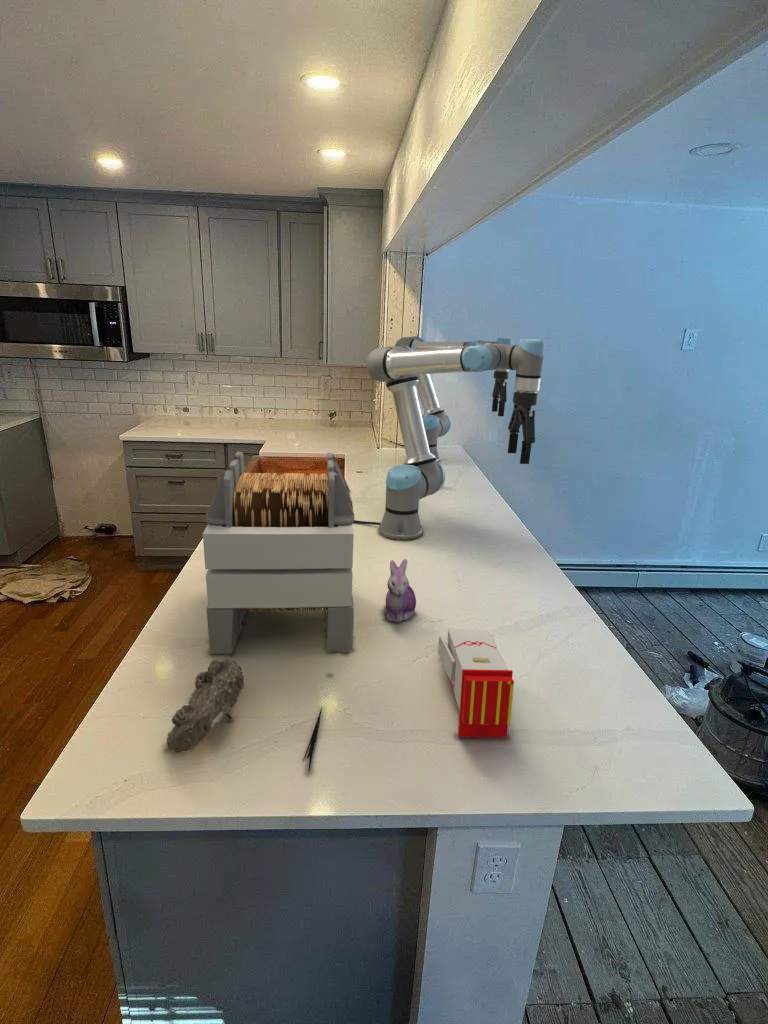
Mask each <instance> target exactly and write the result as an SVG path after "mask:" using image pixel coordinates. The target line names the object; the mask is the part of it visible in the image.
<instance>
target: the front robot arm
mask: <svg viewBox="0 0 768 1024" xmlns="http://www.w3.org/2000/svg"><path fill="white" fill-rule="evenodd" d="M545 346H546V345H545V341H543V340H542V339H534V338H533V339H532V338H521V339H520V340H519V343H518V344H512V345H507V344H498V343H486V344H484V345H473V346H462V347H450V348H437V349H425V350H413V349H412V348H410V347H406V346H395V345H393V346H392V345H391V346H379V347H376V348H375V349H373V350H371V352H370V353H369V354H368V356H367V359H366V363H365V364H366V365H365V367H366V371H367V373H368V375H369V376H370V378H372V379H373V380H374V381H376V382H381V383H385V386H386V389H387V390H388V391H390V392H391V394H392V399H393V402H394V403H393V404H394V407H395V411H396V415H397V420H398V424H399V428H400V434H401V437H402V443H403V445H404V446H403V447H404V451H405V455H406V459H405V461H404V463H403V464H401V465H400V464H398V465H394V466H392V467H391V468H389V470H388V471H387V473H386V479H385V504H384V505H385V507H384V508H385V509H384V513H383V515H382V519H381V522H378V521H377V522H376V521H365V520H357V519H354V522H353V523H352V524H361V525H372V526H378V533H379V534H380V535H381V536H382V537H385V538H387V539H389V540H395V541H410V540H415V539H418V538H420V537H421V536H422V535H423V525H422V524H421V518H420V515H419V507H420V506H419V505H420V504H419V503H420V500H422V499H423V498H426V497H428V496H432V495H434V494H436V493H437V492H439V491H440V490H441V489H442V488H443V486H444V485H445V481H446V472H445V469H444V467H443V466H442V465H441V464H440V462H436V457H435V455H433V454H431V453H430V450H429V445H428V441H427V436H426V432H425V427H424V423H423V418H422V415H423V414H422V410H421V405H420V401H419V397H418V396H419V395H418V390H417V387H416V385H417V383H418V381H419V380H418V376H417V375H418V374H430V375H433V374H435V375H436V374H450V373H451V374H452V373H471V372H473V373H481V372H485V371H493V370H494V371H495V369H507V370H508V371H515V377H514V385H513V390H514V392H513V396H512V404H513V409H512V413H511V417H510V419H509V424H508V427H507V430H508V432H509V437H508V445H507V454H517V450H518V449H517V448H518V441H519V434H520V429H521V430H522V431H521V432H522V439H523V440H522V441H521V443H520V444H521V450H520V458H519V464H520V465H530V461H531V460H530V459H531V452H532V445H533V444H535V442H536V430H535V429H536V426H535V425H536V424H535V416H536V410H532V406H537V405H538V401H539V393H538V392H539V391H540V385H541V384H542V380H541V379H542V378H541V377H542V371H543V363H544V358H545Z"/></svg>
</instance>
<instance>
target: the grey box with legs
mask: <svg viewBox="0 0 768 1024" xmlns="http://www.w3.org/2000/svg"><path fill="white" fill-rule="evenodd" d="M244 455H245V454H244V451H242V452H241V451H236V452H235V454H234V456H233V458H232V459H230V463H229V465H228V467H227V469H226V470H224V473H223V475H222V478H221V479H220V482H219V484H218V487H217V489H216V491H215V494H214V495H213V497H212V500H211V502H210V505H209V507H208V509H207V511H206V515H205V523H206V524H207V525H206V527H205V529H204V531H203V533H202V543H203V558H204V569H205V570H206V573H205V584H206V587H205V588H206V598H207V599H206V601H207V607H206V623H207V634H208V641H209V642H208V643H209V650H208V653H209V655H216V654H217V655H218V654H221V655H222V654H223V655H226V654H227V655H228V654H230V655H231V654H232V653H233V650H234V648H235V647H236V643H237V641H238V638H239V636H240V634H241V630H242V626H241V625H242V623H241V622H243V621H244V618H245V615H246V612H272V611H273V612H279V611H280V612H284V611H286V612H288V611H289V612H291V611H292V612H293V611H294V612H295V611H303V612H304V611H322V610H323V611H326V636H327V637H326V641H327V645H326V646H327V652H329V653H330V652H332V653H333V652H343V653H349V652H351V651H352V650H354V617H355V616H354V614H355V607H354V598H353V575H354V573H353V566H354V563H353V562H354V537H355V536H354V535H355V532H354V527H353V524H354V523H353V522H354V520H355V511H354V506H353V505H354V504H353V500H352V495H351V489H350V487H349V485H348V483H347V480H346V479H345V476H344V474H343V472H342V470H341V467H340V465H339V463H338V461H337V459H336V457H335V455H334V453H333V452H327V453H326V456H327V457H326V468H327V469H326V473H320V474H318V473H307V474H306V473H303V472H302V473H299V472H298V473H297V472H294V473H293V472H292V473H291V472H290V473H288V472H283V473H276V472H273V473H271V472H263V473H262V472H259V473H258V472H253V473H252V472H245V468H246V467H245V456H244Z"/></svg>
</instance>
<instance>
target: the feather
mask: <svg viewBox="0 0 768 1024" xmlns="http://www.w3.org/2000/svg"><path fill="white" fill-rule="evenodd" d="M329 675H330V676H331V675H332V674H331V673H330V674H329ZM322 710H323V707H321V708H320V710H319V713H318V716H317V719H316V723H315V725H314V728H313V731H312V733H311V737H310V739H309V742H308V745H307V748H306V751H305V754H304V757H303V760H302V763H301V767H302V765H303V763H304V761H305V758H308V759H309V760H308V762H307V763H308V764H307V766H308V771H310V770H311V766H312V765H311V764H312V760H313V757H315V756H314V755H315V751H316V749H315V746H317V739H318V733H319V729H320V722H321V717H322V712H323V711H322ZM313 754H314V755H313ZM306 755H307V757H306Z"/></svg>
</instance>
